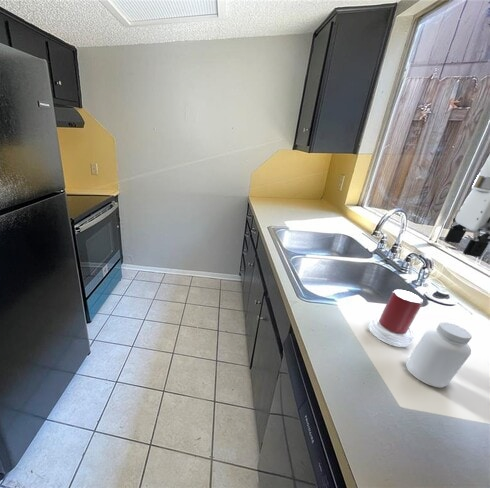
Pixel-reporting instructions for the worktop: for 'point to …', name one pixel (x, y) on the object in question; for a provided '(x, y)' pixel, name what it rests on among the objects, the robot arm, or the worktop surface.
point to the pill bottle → (440, 354)
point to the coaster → (390, 334)
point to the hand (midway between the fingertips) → (460, 248)
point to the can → (400, 311)
